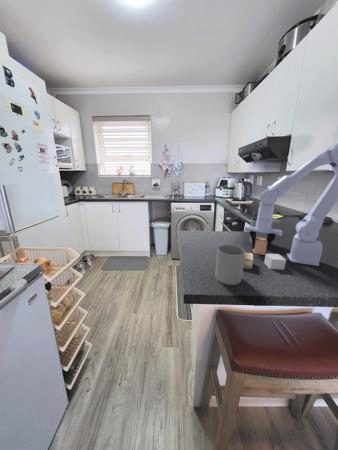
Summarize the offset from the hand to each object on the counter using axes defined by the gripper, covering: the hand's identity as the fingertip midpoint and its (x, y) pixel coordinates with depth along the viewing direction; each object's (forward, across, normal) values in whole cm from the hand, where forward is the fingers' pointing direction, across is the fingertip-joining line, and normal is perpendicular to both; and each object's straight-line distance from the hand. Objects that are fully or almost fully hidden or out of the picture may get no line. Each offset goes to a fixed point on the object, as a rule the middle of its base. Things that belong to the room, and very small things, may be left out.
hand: (259, 248), depth 83 cm
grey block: (+2, -4, +12) cm, 13 cm away
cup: (+2, +12, +27) cm, 30 cm away
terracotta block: (+2, 0, 0) cm, 2 cm away
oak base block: (+2, +7, +15) cm, 17 cm away
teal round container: (+2, -1, -13) cm, 13 cm away
